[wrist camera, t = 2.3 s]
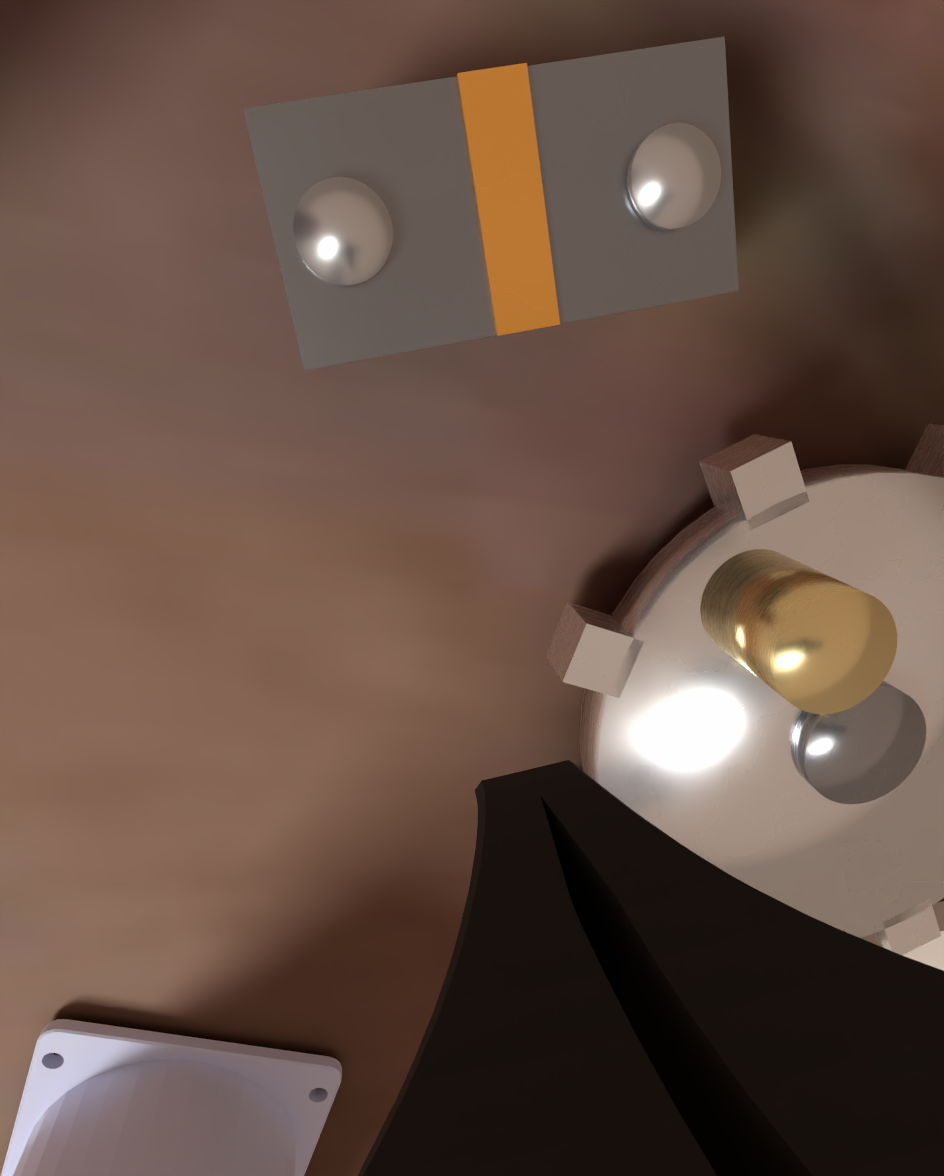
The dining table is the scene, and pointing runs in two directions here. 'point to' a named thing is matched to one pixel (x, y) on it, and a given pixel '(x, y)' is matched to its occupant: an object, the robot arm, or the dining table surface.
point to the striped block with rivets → (500, 199)
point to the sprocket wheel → (786, 685)
